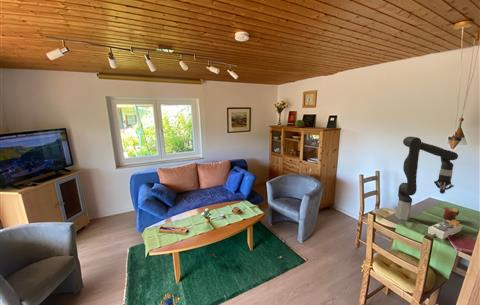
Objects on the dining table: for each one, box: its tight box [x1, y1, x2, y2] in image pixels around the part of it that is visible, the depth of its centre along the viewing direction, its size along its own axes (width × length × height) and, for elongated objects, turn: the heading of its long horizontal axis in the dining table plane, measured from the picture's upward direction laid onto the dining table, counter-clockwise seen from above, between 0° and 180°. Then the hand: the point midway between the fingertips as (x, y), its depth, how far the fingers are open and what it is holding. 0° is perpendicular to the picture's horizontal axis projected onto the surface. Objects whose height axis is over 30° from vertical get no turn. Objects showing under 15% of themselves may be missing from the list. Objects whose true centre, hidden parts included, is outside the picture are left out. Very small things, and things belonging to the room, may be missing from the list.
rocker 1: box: [437, 224, 448, 231], centre depth 151 cm, size 6×4×2 cm, turn 112°
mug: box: [442, 206, 460, 221], centre depth 173 cm, size 12×9×10 cm
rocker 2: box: [449, 219, 460, 226], centre depth 157 cm, size 6×4×2 cm, turn 112°
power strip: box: [427, 220, 463, 240], centre depth 155 cm, size 32×9×6 cm, turn 112°
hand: (441, 193), depth 169 cm, fingers closed
